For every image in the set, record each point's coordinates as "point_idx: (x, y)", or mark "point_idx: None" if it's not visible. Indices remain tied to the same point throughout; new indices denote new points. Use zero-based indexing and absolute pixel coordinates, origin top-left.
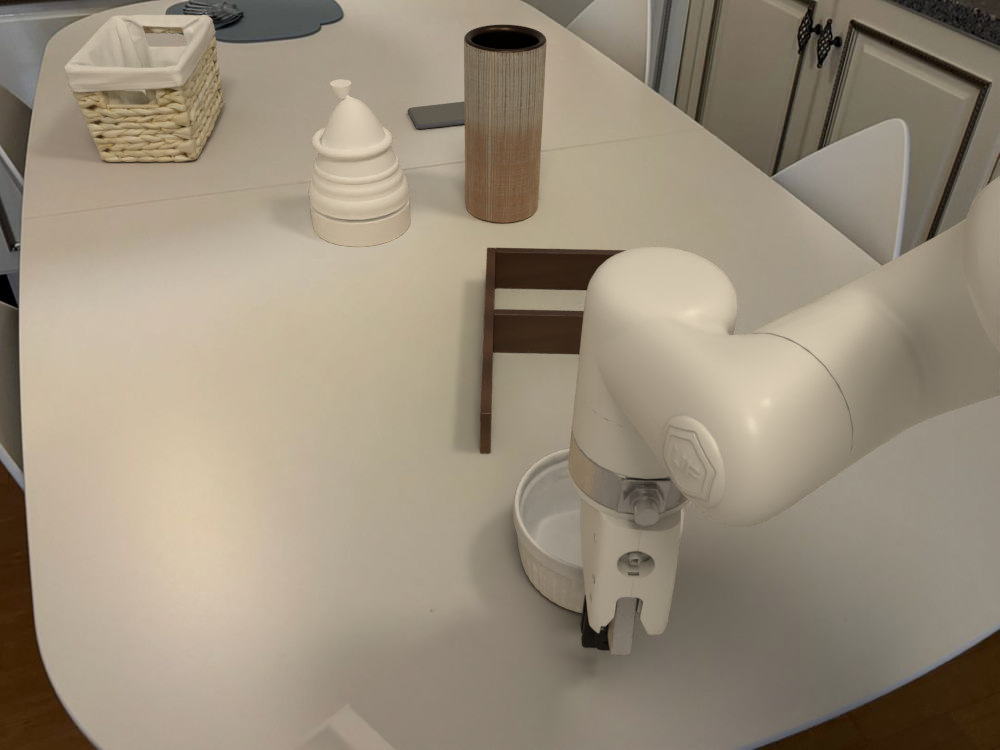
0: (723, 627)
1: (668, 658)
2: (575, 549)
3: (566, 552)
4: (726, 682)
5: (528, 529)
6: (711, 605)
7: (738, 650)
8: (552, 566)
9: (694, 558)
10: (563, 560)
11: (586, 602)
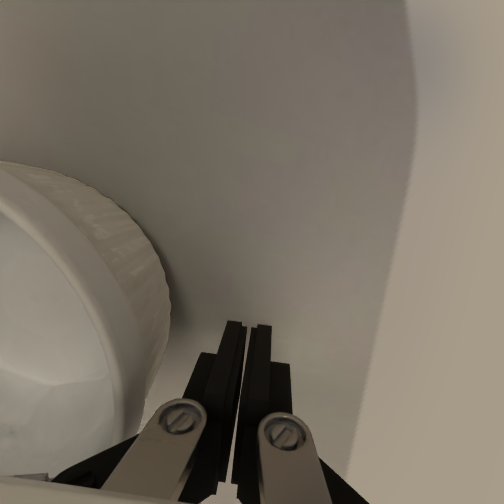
0: (193, 81)
1: (250, 205)
2: (41, 321)
3: (49, 336)
4: (307, 111)
5: (9, 410)
6: (144, 91)
7: (244, 65)
8: None
9: (37, 96)
10: (66, 343)
11: (217, 485)
